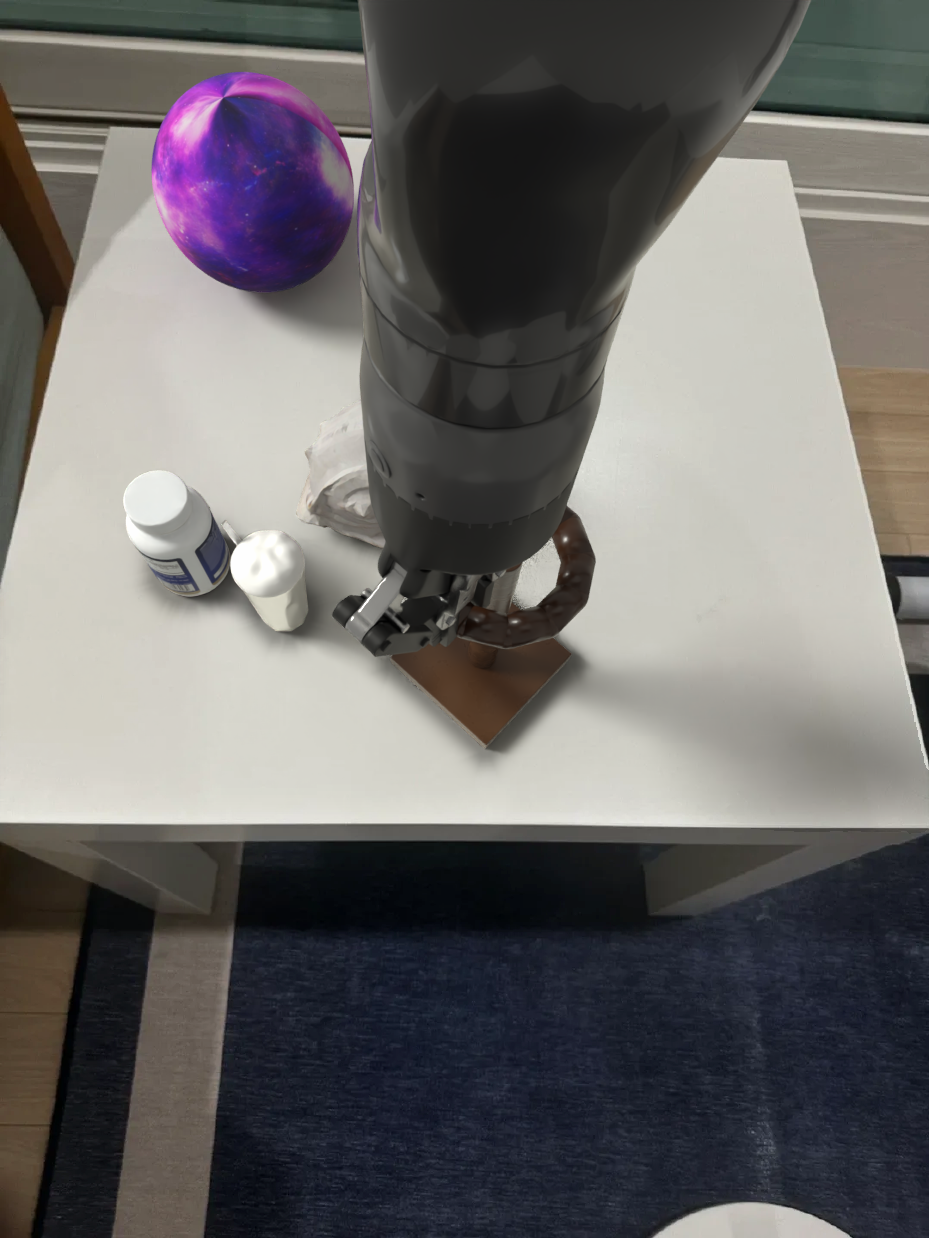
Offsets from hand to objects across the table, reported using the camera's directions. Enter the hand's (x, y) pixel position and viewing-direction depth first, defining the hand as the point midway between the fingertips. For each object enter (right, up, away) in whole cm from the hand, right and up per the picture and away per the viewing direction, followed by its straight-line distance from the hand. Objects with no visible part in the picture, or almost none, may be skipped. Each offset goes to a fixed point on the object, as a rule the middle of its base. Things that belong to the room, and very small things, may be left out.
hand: (453, 613), depth 44 cm
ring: (+3, +3, 0) cm, 4 cm away
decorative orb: (-16, +30, +28) cm, 44 cm away
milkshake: (-13, 0, +17) cm, 21 cm away
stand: (+2, -3, +16) cm, 16 cm away
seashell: (-7, +10, +21) cm, 24 cm away
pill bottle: (-19, +4, +18) cm, 26 cm away
